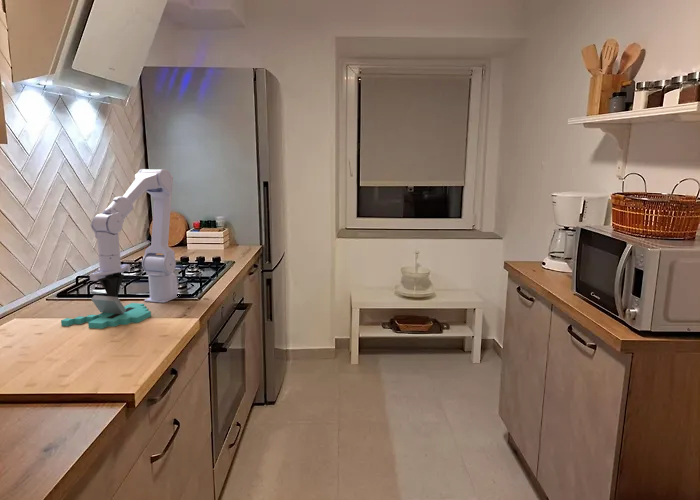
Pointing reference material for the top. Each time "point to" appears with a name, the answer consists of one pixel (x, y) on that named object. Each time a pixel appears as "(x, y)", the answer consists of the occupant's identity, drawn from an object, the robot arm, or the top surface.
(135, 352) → the top surface
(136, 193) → the robot arm
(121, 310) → the tile
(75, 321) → the alien figure
